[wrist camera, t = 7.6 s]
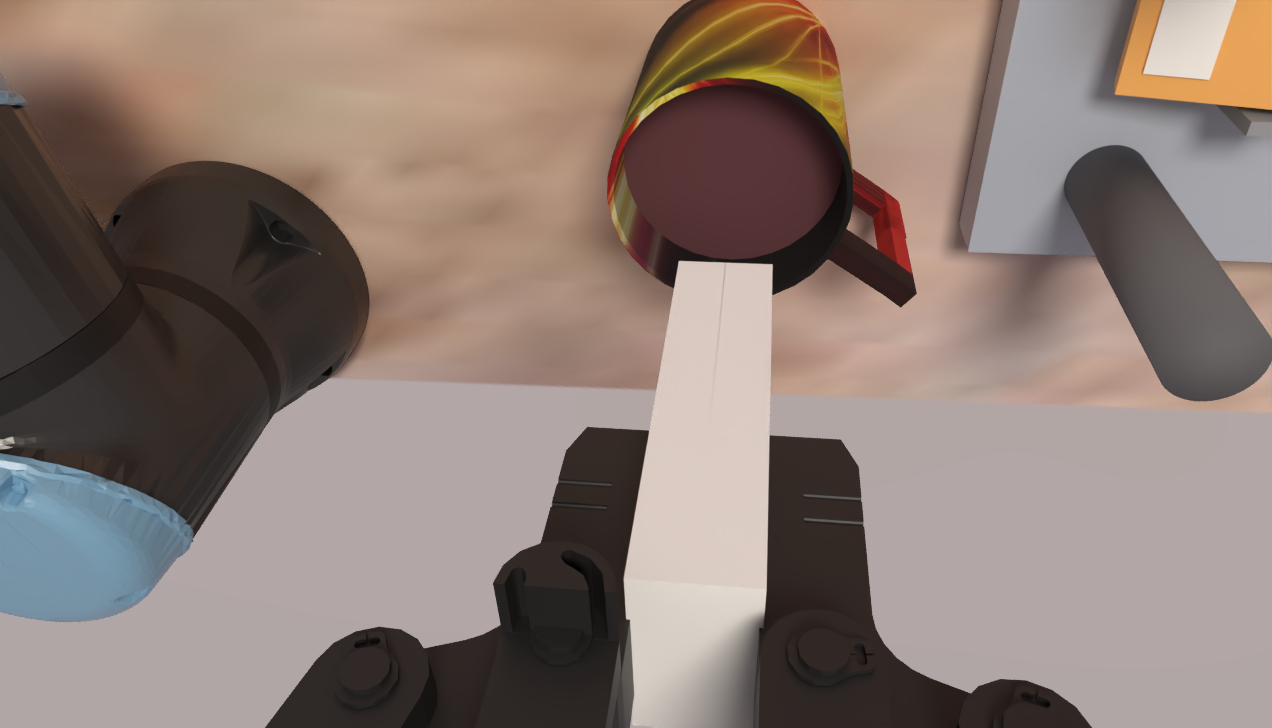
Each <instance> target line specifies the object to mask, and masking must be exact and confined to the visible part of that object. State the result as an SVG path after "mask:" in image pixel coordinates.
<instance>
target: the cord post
mask: <svg viewBox="0 0 1272 728" xmlns="http://www.w3.org/2000/svg"><path fill="white" fill-rule="evenodd" d="M1064 192H1065V197H1066V199H1067V201H1068V203H1069V205H1070V207H1071V209H1072V211H1073V213H1074V215H1075V217H1076V219H1077V221H1078V223H1079V224H1080V226H1081V228H1082V230H1083V232H1084V234H1085V236H1086V238H1087V240H1088V242H1089V244H1090V246H1091V248H1092V250H1093V252H1094V254H1095V256H1096V257H1097V259H1098V261H1099V263H1100V265H1101V267H1102V269H1103V271H1104V273H1105V275H1106V277H1107V279H1108V281H1109V283H1110V285H1111V287H1112V288H1113V290H1114V292H1115V294H1116V296H1117V298H1118V300H1119V302H1120V304H1121V306H1122V308H1123V310H1124V312H1125V314H1126V316H1127V318H1128V320H1129V321H1130V323H1131V325H1132V327H1133V329H1134V331H1135V333H1136V335H1137V337H1138V339H1139V341H1140V343H1141V345H1142V347H1143V349H1144V351H1145V353H1146V354H1147V356H1148V358H1149V360H1150V362H1151V364H1152V366H1153V368H1154V370H1155V372H1156V374H1157V376H1158V378H1159V380H1160V382H1161V384H1162V385H1163V386H1164V388H1165V389H1166V390H1168V391H1169V392H1170V393H1172V394H1173V395H1175V396H1177V397H1180V398H1183V399H1186V400H1191V401H1213V400H1218V399H1222V398H1226V397H1229V396H1232V395H1235V394H1237V393H1239V392H1241V391H1243V390H1245V389H1246V388H1248V387H1250V386H1251V385H1252V384H1254V383H1255V382H1256V381H1257V380H1258V379H1259V378H1260V377H1261V376H1262V375H1263V374H1264V373H1265V372H1266V370H1267V369H1268V367H1269V365H1270V364H1271V361H1272V339H1271V337H1270V335H1269V334H1268V332H1267V331H1266V329H1265V328H1264V326H1263V325H1262V324H1261V322H1260V321H1259V319H1258V318H1257V317H1256V315H1255V314H1254V312H1253V311H1252V310H1251V308H1250V307H1249V305H1248V304H1247V303H1246V301H1245V300H1244V298H1243V297H1242V295H1241V294H1240V293H1239V291H1238V290H1237V288H1236V287H1235V286H1234V284H1233V283H1232V281H1231V280H1230V279H1229V277H1228V276H1227V274H1226V273H1225V272H1224V270H1223V269H1222V267H1221V266H1220V265H1219V263H1218V262H1217V260H1216V259H1215V258H1214V256H1213V255H1212V253H1211V252H1210V250H1209V249H1208V248H1207V246H1206V245H1205V243H1204V242H1203V241H1202V239H1201V238H1200V236H1199V235H1198V234H1197V232H1196V231H1195V229H1194V228H1193V227H1192V225H1191V224H1190V222H1189V221H1188V220H1187V218H1186V217H1185V215H1184V214H1183V213H1182V211H1181V210H1180V208H1179V207H1178V205H1177V204H1176V203H1175V201H1174V200H1173V198H1172V197H1171V196H1170V194H1169V193H1168V191H1167V190H1166V189H1165V187H1164V186H1163V184H1162V183H1161V182H1160V180H1159V179H1158V177H1157V176H1156V175H1155V173H1154V172H1153V170H1152V169H1151V168H1150V166H1149V165H1148V163H1147V162H1146V161H1145V159H1144V158H1143V156H1142V155H1141V154H1140V153H1139V152H1137V151H1136V150H1134V149H1132V148H1130V147H1127V146H1122V145H1109V146H1103V147H1100V148H1097V149H1094V150H1092V151H1090V152H1088V153H1087V154H1085V155H1084V156H1082V157H1081V158H1080V159H1079V160H1078V161H1077V162H1075V164H1074V165H1073V166H1072V167H1071V169H1070V170H1069V172H1068V174H1067V176H1066V179H1065V184H1064Z"/></svg>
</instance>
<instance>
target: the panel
mask: <svg viewBox="0 0 1272 728" xmlns="http://www.w3.org/2000/svg"><path fill="white" fill-rule="evenodd" d="M1136 2H1137V0H1003V2H1002V7H1001V12H1000V17H999V22H998V27H997V32H996V37H995V42H994V47H993V53H992V58H991V63H990V68H989V73H988V78H987V83H986V88H985V93H984V98H983V104H982V109H981V114H980V119H979V124H978V129H977V134H976V139H975V144H974V149H973V155H972V160H971V165H970V170H969V175H968V180H967V185H966V190H965V195H964V200H963V206H962V211H961V216H960V221H959V225H960V228H961V231H962V235H963V238H964V241H965V244H966V248H967V251H968V252H980V253H1009V254H1038V255H1068V256H1095V254H1094V252H1093V250H1092V248H1091V246H1090V244H1089V242H1088V240H1087V238H1086V236H1085V234H1084V232H1083V230H1082V228H1081V226H1080V224H1079V223H1078V221H1077V219H1076V217H1075V215H1074V213H1073V211H1072V209H1071V207H1070V205H1069V203H1068V201H1067V199H1066V197H1065V192H1064V184H1065V179H1066V176H1067V174H1068V172H1069V170H1070V169H1071V167H1072V166H1073V165H1074V164H1075V162H1077V161H1078V160H1079V159H1080V158H1081V157H1082V156H1084V155H1085V154H1087V153H1088V152H1090V151H1092V150H1094V149H1097V148H1100V147H1103V146H1109V145H1122V146H1127V147H1130V148H1132V149H1134V150H1136V151H1137V152H1139V153H1140V154H1141V155H1142V156H1143V158H1144V159H1145V161H1146V162H1147V163H1148V165H1149V166H1150V168H1151V169H1152V170H1153V172H1154V173H1155V175H1156V176H1157V177H1158V179H1159V180H1160V182H1161V183H1162V184H1163V186H1164V187H1165V189H1166V190H1167V191H1168V193H1169V194H1170V196H1171V197H1172V198H1173V200H1174V201H1175V203H1176V204H1177V205H1178V207H1179V208H1180V210H1181V211H1182V213H1183V214H1184V215H1185V217H1186V218H1187V220H1188V221H1189V222H1190V224H1191V225H1192V227H1193V228H1194V229H1195V231H1196V232H1197V234H1198V235H1199V236H1200V238H1201V239H1202V241H1203V242H1204V243H1205V245H1206V246H1207V248H1208V249H1209V250H1210V252H1211V253H1212V255H1213V256H1214V258H1215V259H1216V260H1217V261H1243V262H1272V110H1268V109H1258V108H1248V107H1238V106H1228V105H1217V104H1207V103H1197V102H1187V101H1177V100H1167V99H1156V98H1146V97H1136V96H1126V95H1116V94H1115V86H1114V81H1115V77H1116V74H1117V70H1118V67H1119V63H1120V59H1121V56H1122V52H1123V49H1124V45H1125V41H1126V38H1127V34H1128V31H1129V27H1130V24H1131V20H1132V16H1133V13H1134V9H1135V6H1136Z"/></svg>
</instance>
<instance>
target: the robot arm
mask: <svg viewBox="0 0 1272 728" xmlns="http://www.w3.org/2000/svg"><path fill="white" fill-rule="evenodd" d="M26 106H28V103H27V101H26V100H25V98H24V97H23V96H22V95H20V94H19V93H17V92H15V91H13V90H12V89H11V87H10V86H9V85H8V83H7V82H6V80H5V79H4V77H3V76H2V75H1V73H0V612H3V613H7V614H10V615H15V616H19V617H25V618H30V619H36V620H44V621H54V622H79V621H91V620H98V619H102V618H106V617H110V616H113V615H117V614H119V613H121V612H123V611H126V610H128V609H130V608H132V607H133V606H135V605H136V604H138V603H139V602H140V601H142V600H143V599H144V598H145V597H146V596H147V595H148V594H149V593H150V592H151V591H152V589H153V588H154V587H155V586H156V584H157V583H158V582H159V580H160V579H161V578H162V577H163V575H164V574H165V573H166V572H167V570H168V569H169V568H170V566H171V565H172V564H173V563H174V561H175V560H176V559H177V558H178V557H180V556H181V555H183V554H184V553H185V552H186V551H187V550H188V549H189V548H190V545H191V542H193V538H194V536H195V535H196V533H197V532H198V530H199V529H200V527H201V525H202V524H203V522H204V521H205V519H206V518H207V516H208V515H209V513H210V512H211V510H212V509H213V507H214V505H215V504H216V502H217V501H218V499H219V497H220V496H221V495H222V493H223V492H224V490H225V488H226V487H227V485H228V484H229V482H230V481H231V479H232V478H233V476H234V475H235V473H236V471H237V470H238V468H239V467H240V465H241V464H242V462H243V461H244V459H245V458H246V456H247V455H248V453H249V451H250V450H251V448H252V447H253V445H254V444H255V442H256V441H257V439H258V438H259V436H260V435H261V433H262V431H263V429H264V428H265V427H266V425H267V424H268V422H269V421H270V419H271V418H272V416H273V415H274V414H275V413H277V412H278V411H280V410H281V409H283V408H284V407H286V406H287V405H289V404H290V403H292V402H293V401H295V400H297V399H298V398H299V397H301V396H302V395H303V394H305V393H306V392H307V391H308V390H311V389H313V388H315V387H317V386H318V385H320V384H321V383H323V382H324V381H326V380H327V379H329V378H330V377H331V376H332V375H334V374H335V373H336V372H337V371H338V370H339V369H340V368H341V366H342V365H343V364H344V363H345V361H346V360H347V358H348V357H349V355H350V354H351V352H352V350H353V349H354V347H355V346H356V344H357V342H358V341H359V339H360V337H361V335H362V333H363V331H364V328H365V325H366V321H367V316H368V306H369V303H368V290H367V285H366V280H365V277H364V273H363V271H362V268H361V265H360V263H359V261H358V259H357V256H356V255H355V253H354V251H353V249H352V247H351V246H350V244H349V242H348V241H347V239H346V238H345V237H344V235H343V234H342V232H341V231H340V230H339V229H338V227H337V226H336V225H335V224H334V223H333V222H332V221H331V219H330V218H329V217H328V216H327V215H326V214H325V213H324V212H323V211H322V210H321V209H319V208H318V207H317V206H316V205H315V204H314V203H313V202H311V201H310V200H309V199H307V198H306V197H305V196H303V195H302V194H301V193H299V192H298V191H296V190H295V189H293V188H291V187H290V186H288V185H287V184H285V183H283V182H281V181H279V180H277V179H275V178H273V177H271V176H269V175H267V174H264V173H262V172H259V171H256V170H254V169H251V168H247V167H244V166H240V165H236V164H231V163H225V162H216V161H195V162H187V163H182V164H178V165H174V166H171V167H168V168H166V169H164V170H162V171H159V172H158V173H156V174H154V175H153V176H151V177H150V178H149V179H147V180H146V181H145V182H144V183H142V184H141V185H140V186H139V187H138V188H136V189H135V190H134V191H133V192H132V193H130V194H129V195H128V196H127V197H126V198H125V199H124V200H123V201H122V202H121V204H120V205H119V206H118V207H117V209H116V210H115V212H114V213H113V215H112V216H111V219H110V221H109V223H108V225H107V228H106V231H105V233H104V232H103V230H102V229H101V227H100V225H99V224H98V222H97V221H96V219H95V217H94V216H93V214H92V213H91V211H90V209H89V208H88V206H87V205H86V203H85V202H84V200H83V198H82V197H81V195H80V194H79V192H78V190H77V189H76V187H75V186H74V184H73V182H72V181H71V179H70V178H69V176H68V174H67V173H66V171H65V170H64V168H63V166H62V165H61V163H60V162H59V160H58V159H57V157H56V155H55V154H54V152H53V151H52V149H51V147H50V146H49V144H48V143H47V141H46V139H45V138H44V136H43V135H42V133H41V131H40V130H39V128H38V127H37V125H36V124H35V122H34V120H33V119H32V117H31V116H30V114H29V112H28V111H27V109H26V108H25V107H26ZM772 272H773V264H748V263H721V262H694V261H679V263H678V269H677V275H676V281H675V286H674V292H673V298H672V304H671V309H670V315H669V321H668V327H667V332H666V338H665V344H664V350H663V355H662V361H661V367H660V373H659V378H658V384H657V390H656V396H655V402H654V407H653V413H652V419H651V424H650V430H649V431H645V430H628V429H611V428H594V427H587V428H586V429H585V430H584V431H583V432H582V434H581V435H580V436H579V437H578V438H577V439H576V440H575V441H574V443H573V444H572V445H571V446H570V447H569V448H568V449H567V451H566V453H565V457H564V461H563V464H562V468H561V472H560V475H559V482H558V484H557V486H556V490H555V493H554V497H553V501H552V507H551V508H550V512H549V515H548V519H547V523H546V526H545V530H544V533H543V537H542V541H541V543H540V544H538V545H535V546H533V547H530V548H528V549H525V550H522V551H520V552H519V553H518V554H516V555H515V556H514V557H513V558H511V559H510V560H509V561H508V562H507V563H505V564H504V565H503V567H502V568H501V570H500V572H499V574H498V575H497V577H496V579H495V581H494V583H493V585H494V590H495V596H496V601H497V607H498V612H499V617H500V623H501V625H500V626H498V627H497V628H495V629H493V630H491V631H489V632H487V633H485V634H483V635H480V636H477V637H474V638H471V639H467V640H463V641H459V642H454V643H449V644H444V645H439V646H434V647H429V648H423V647H422V645H421V643H420V642H419V640H418V639H416V638H415V637H413V636H411V635H409V634H408V633H406V632H404V631H402V630H401V629H393V628H384V627H376V628H371V629H366V630H361V631H356V632H354V633H352V634H350V635H348V636H346V637H344V638H343V639H341V640H339V641H337V642H335V643H333V644H332V645H331V646H330V647H329V648H328V649H327V650H326V651H325V652H324V653H323V654H322V655H321V656H320V657H319V658H318V659H317V660H316V661H315V662H314V664H313V665H312V666H311V668H310V669H309V670H308V672H307V673H306V674H305V676H304V677H303V678H302V680H301V681H300V682H299V684H298V685H297V686H296V688H295V689H294V690H293V692H292V693H291V694H290V695H289V697H288V698H287V699H286V701H285V702H284V704H283V705H282V706H281V707H280V709H279V710H278V711H277V713H276V714H275V715H274V717H273V718H272V719H271V721H270V722H269V723H268V725H267V726H266V727H265V728H630V721H631V714H632V725H637V726H647V727H657V728H1092V727H1091V726H1090V725H1089V723H1088V722H1087V721H1086V719H1085V718H1084V717H1083V716H1082V715H1081V713H1080V712H1079V711H1078V709H1077V708H1076V707H1075V706H1074V705H1072V704H1071V703H1069V702H1068V701H1067V700H1065V699H1064V698H1062V697H1061V696H1060V695H1058V694H1057V693H1055V692H1054V691H1053V690H1050V689H1048V688H1045V687H1042V686H1039V685H1037V684H1034V683H1031V682H1028V681H1025V680H1007V679H1006V680H1005V679H1000V680H996V681H993V682H990V683H987V684H984V685H981V686H978V687H977V688H976V689H975V690H974V691H973V692H972V693H971V694H970V693H968V692H965V691H962V690H960V689H957V688H954V687H952V686H949V685H946V684H944V683H941V682H939V681H936V680H933V679H931V678H929V677H927V676H924V675H922V674H920V673H918V672H916V671H914V670H912V669H911V668H909V667H908V666H907V665H906V664H904V663H903V662H902V661H900V660H899V659H897V658H896V657H895V656H894V655H893V653H892V652H891V651H890V650H889V649H888V648H887V647H886V646H885V644H884V643H883V641H882V639H881V638H880V636H879V634H878V632H877V630H876V628H875V624H874V620H873V616H872V607H871V597H870V586H869V576H868V564H867V553H866V542H865V531H864V527H863V510H862V502H861V488H860V477H859V467H858V465H857V464H856V462H855V461H854V459H853V458H852V456H851V455H850V453H849V451H848V450H847V448H846V447H845V445H844V444H843V443H842V441H841V440H837V439H820V438H802V437H786V436H769V432H770V429H769V427H770V379H771V326H772Z"/></svg>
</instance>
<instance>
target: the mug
mask: <svg viewBox="0 0 1272 728" xmlns="http://www.w3.org/2000/svg"><path fill="white" fill-rule="evenodd" d="M607 199H608V204H609V209H610V214H611V219H612V222H613V224H614V226H615V229H616V231H617V233H618V236H619V238H620V240H621V241H622V243H623V244H624V246H625V247H626V249H627V250H628V252H629V253H630V254H631V256H632V257H633V258H634V259H635V260H636V261H637V262H638V263H639V264H640V265H641V266H642V267H643V268H644V269H645V270H646V271H647V272H648V273H650V274H651V275H652V276H654V277H655V278H657V279H658V280H660V281H661V282H663V283H664V284H666V285H668V286H670V287H672V288H674V286H675V281H676V275H677V269H678V263H679V261H694V262H721V263H748V264H773V272H772V295H774V294H776V293H779V292H781V291H783V290H785V289H788V288H790V287H792V286H795V285H796V284H798V283H799V282H801V281H802V280H804V279H805V278H807V277H808V276H810V275H811V274H813V273H814V272H815V271H816V270H817V269H818V268H819V267H820V266H821V265H822V264H823V263H824V262H825V261H826V260H827V259H829V260H831V261H832V262H834V263H835V264H837V265H838V266H840V267H841V268H843V269H845V270H846V271H848V272H849V273H851V274H852V275H854V276H855V277H857V278H858V279H860V280H861V281H863V282H864V283H866V284H868V285H869V286H871V287H872V288H874V289H875V290H877V291H878V292H880V293H881V294H883V295H884V296H886V297H887V298H889V299H890V300H891V301H893V302H894V303H895V304H897V305H898V306H899V307H902V306H903V305H904V304H905V303H906V302H908V301H909V300H910V299H911V298H912V297H913V296H915V295H916V294H917V293H916V288H915V283H914V278H913V274H912V269H911V264H910V259H909V254H908V249H907V245H906V240H905V239H906V233H905V229H904V224H903V219H902V214H901V210H900V205H899V202H898V201H897V200H896V199H895V198H893V197H892V196H891V195H890V194H888V193H887V192H886V191H884V190H883V189H881V188H880V187H878V186H877V185H875V184H874V183H872V182H871V181H870V180H868V179H867V178H865V177H864V176H862V175H861V174H859V173H858V172H856V171H855V170H854V169H853V168H852V161H851V153H850V146H849V138H848V130H847V123H846V115H845V108H844V100H843V93H842V85H841V77H840V70H839V64H838V60H837V56H836V52H835V48H834V46H833V43H832V41H831V39H830V37H829V35H828V33H827V31H826V29H825V28H824V27H823V26H822V24H821V23H820V22H819V20H818V19H817V18H816V17H815V15H814V14H813V13H812V12H810V11H809V10H808V9H807V8H805V7H804V6H803V5H802V4H801V3H799V2H798V1H796V0H691V1H689V2H687V3H686V4H684V5H683V6H681V7H680V8H679V9H678V10H677V11H676V12H675V13H674V14H673V15H672V16H670V17H669V18H668V20H667V21H666V22H665V24H664V25H663V26H662V28H661V29H660V30H659V32H658V33H657V35H656V37H655V39H654V41H653V43H652V45H651V47H650V50H649V52H648V55H647V57H646V60H645V63H644V66H643V69H642V72H641V75H640V78H639V81H638V83H637V86H636V89H635V92H634V95H633V98H632V101H631V104H630V107H629V110H628V112H627V115H626V118H625V121H624V124H623V127H622V130H621V133H620V136H619V138H618V141H617V144H616V147H615V150H614V153H613V156H612V160H611V165H610V169H609V173H608V189H607ZM853 204H854V205H855V206H857V207H858V208H860V209H861V210H863V211H864V212H866V213H867V214H869V215H870V216H872V217H873V222H874V228H875V235H876V241H877V248H878V250H877V249H875V248H874V247H872V246H871V245H869V244H868V243H866V242H865V241H863V240H862V239H860V238H859V237H857V236H856V235H854V234H853V233H851V232H850V231H848V230H847V229H846V228H847V225H848V223H849V221H850V217H851V212H852V206H853Z"/></svg>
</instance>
